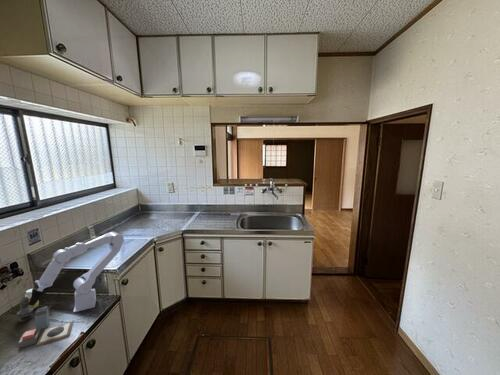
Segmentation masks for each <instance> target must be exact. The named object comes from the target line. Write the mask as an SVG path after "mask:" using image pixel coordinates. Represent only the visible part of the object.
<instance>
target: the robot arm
mask: <svg viewBox="0 0 500 375" xmlns="http://www.w3.org/2000/svg"><path fill="white" fill-rule="evenodd" d="M124 242H125V239H124V236H123V234H120V233H118V232H117V231H110V232H107V233H104V234H103V235H101V236H98V237H95V238H94V239H91V240H89V241H87V242H76V243H75V244H74V245H71V246H68V247H64V249H62V248H61V249H58V250H56V251H55V252H53V254H52V260H51V261H50V262H49V264H48V265H47V267H46V268H45V270H44V272H43V273H42V275H41V277H40V278H39V280H38V279H37V280H35V281H34V284H35V283H36V286H37V287H32V288H31V289H32V296H31V299H30V301H29V304H28V305H33V306H34V305H35V304H36V302H37V301H38V300H40V299H41V298H42V297H43V296H44V295H45V294H47V293H48V291H47V290H48V289H50V288H51V287H52V286H53V283H54V282H55V280H56V279H57V277H58V275H59V274H60V273H61V270H62V269H63V267H64V265H65V263H67V262H69V261H70V260H71V259H72V258H75V257H77V256H79V255H81V254H85V253H86V252H87V250H88V249H91V248H93V247H96V246H99V245H101V244H108V250H107V251H106V252H105V253H104V254H103V255H102V256H101V257H100V258H99V259H98V260H97V262H95V264H94V265H93V266H92V267H91V268H90V269H89V270H88V271H87V272H85V273H83V274H82V275H81V276H79V277H77V278H76V279H75V280H74V281H73V284H72V286H73V288H74V289H75V291H74V308H73V310H72V311H73V313H78V312H81V311H85V310H88V309H92V308H95V307H96V302H97V296H96V295H97V294H96V293H97V292H96V291H97V290H96V288H92V287H93V286H94V284H95V283H96V279H97V277H98V276H100V274H101V273H102V271H103V270H104V269H105V268H106V267H107V266H108V265H109V263H111V261H113V259H114V258H116V256H117V255H118V253H120V251H121V249H122V245H123V243H124Z"/></svg>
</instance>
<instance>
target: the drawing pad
mask: <svg viewBox="0 0 500 375" xmlns="http://www.w3.org/2000/svg"><path fill="white" fill-rule="evenodd" d="M73 323H74V322H73V321H68V322H66V323H62V324H59V325H55V326H51V327H47V328H44V329H42V331H41V332H40V337H39V339H38V341H37V343H36V347H39V346H43V345H46V344H48V343H53V342H56V341H59V340H63V339H66V338H69V337H70V334H71V331H72V326H73ZM68 336H69V337H68ZM65 337H66V338H65ZM62 338H63V339H62ZM52 341H53V342H52Z"/></svg>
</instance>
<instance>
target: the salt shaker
mask: <svg viewBox="0 0 500 375" xmlns="http://www.w3.org/2000/svg"><path fill="white" fill-rule="evenodd" d="M19 303H20V305H19V308H20V310H19V311H18V312H17V313H16V316H18V320H17V321H18V322H25V321H28V320H30V319H32V318H33V316H34V314H33V310H34V308H30V307H29V305H28V304H29V300H28V297H25V295H23V297H22V298H21V299H20V302H19Z"/></svg>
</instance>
